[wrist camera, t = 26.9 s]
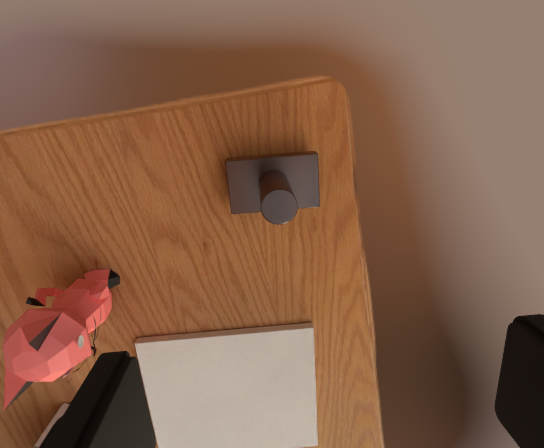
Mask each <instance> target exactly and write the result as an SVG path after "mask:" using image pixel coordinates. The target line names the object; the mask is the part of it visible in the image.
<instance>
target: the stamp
mask: <svg viewBox="0 0 544 448" xmlns="http://www.w3.org/2000/svg"><path fill="white" fill-rule="evenodd" d="M225 164H226V172H227V181H228V189H229V198H230V206H231V214H242V213H253V212H262V215H263V216H264V218H265V219H266V220H267V221H269V222H270V223H273V224H278V225H279V224H285V223H287V222H289V221H291V220H292V219H293V218H294V217H295V215H296V213H297V209H299V208H311V207H319V206H320V200H319V171H318V153H316V152H315V151H311V152H299V153H287V154H275V155H263V156H251V157H239V158H227V159H226V161H225Z"/></svg>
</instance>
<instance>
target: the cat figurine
mask: <svg viewBox="0 0 544 448" xmlns="http://www.w3.org/2000/svg"><path fill="white" fill-rule="evenodd" d="M119 284H120V276H119V275H117V274H116V273H115V272H113V271H112V270H111V269H101V270H92V271H89V272H87V273H85V274H84V279H79V278H78V279H77V280H76V281H75V282H74V283H73V284H72V285H70V286H69V287H68V288H67V289H66V290H65V291H64V290H61V289H58V288H44V289H37V291H36V294H35V299H34V298H30V297H28V299H27V302H26V303H27V304H30V305H34V306H45V307H46V296H56V297H57V298H56V299H55V300H54V301H53V304H52V308H40V309H30V310H27V311H26V312H25V313H24V314H23V315H22V316H21V317H20V318H19V319H18V320H17V321H16V322H15V323H14V324H13V325H12V326H11V327H10V328H9V329H8V330H7V331H6V334H5V339H4V343H3V350H4V361H5V393H4V410H5V409H6V408H7V407H8V406H10V405H11V404H12V403H13V402H14V401H15V400H16V399H17V398H18V397H19V396H20V395H21V394H22V393H23V392H24V391H25V390H26V389H27V388H28V387H29V386H30V385H31V384H32V383H33V382H34V381H40V382H53V381H54V380H56V379H57V378H58V377H60V376H61V375H63V374H64V373H65V374H64V376H63V378H65V377H66V376H67V375H69V374H70V372H71V371H72V370H73V367H74V366H75V365H77V364H78V363H80V362H81V361H83V360H84V359H86V358H87V357H89V356H90V355H91V354H92V350H91V349H93V350H94V355H95V353H96V349H95V344H94V341H95V337H94V341H93V344H94V347H92V346H91V343H90V337H89V334H90V333H92V332H93V331H95V333H96V328H97V327H98V326H99V325H100V324H101V323H103V322H104V321H105V320H106V318H107V316H108V314H109V312H110V310H111V308H112V300H111V291H110V290H109V289H108V288H112V287H114V286H116V285H119ZM94 329H95V330H94ZM98 329H99V327H98ZM97 334H98V332H97ZM92 338H93V336H92ZM96 338H97V337H96ZM94 355H93V356H94ZM85 361H86V360H85ZM81 366H82V365H81ZM77 370H78V369H77ZM77 370H76V371H77ZM74 372H75V371H74ZM72 373H73V372H72ZM69 381H70V380H69ZM65 384H66V383H65Z"/></svg>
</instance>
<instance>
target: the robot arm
mask: <svg viewBox="0 0 544 448" xmlns="http://www.w3.org/2000/svg"><path fill="white" fill-rule="evenodd" d="M495 412H496V415H497V417H498V419H499V421H500V422H501V424H502V425H503V426H504V428H505V429H506V430H507V431H508V433H509V434H510V435H511V437H512V438H513V439H514V440H515V442H516V443H517V444H518V446H519V447H520V448H544V315H541V314H537V315H526V316H518V317H516V318H515V319H514V320H513V323H510V325H509V326H508V329H507V335H506V341H505V347H504V353H503V359H502V365H501V371H500V377H499V383H498V388H497V395H496V400H495ZM155 445H156V442H155V435H154V430H153V426H152V422H151V417H150V413H149V409H148V404H147V400H146V396H145V391H144V387H143V383H142V378H141V374H140V370H139V365H138V361H137V358H136V357H130V355H129V353H128V352H127V351H121V352H109V353H103V354H101V355H100V356H99V358H98V359H97V361H96V362H95V364H94V366H93V367H92V369H91V371H90V372H89V374H88V375H87V377H86V379H85V380H84V382H83V384H82V385H81V387H80V389H79V390H78V392H77V393H76V395H75V397H74V398H73V400H72V402H71V403H70V405H69V406H68V408H67V410H66V411H65V413H64V415H63V416H62V417H60V418H59V419H57V421H56V422H55V423H54V425H53V426H52V428H51V429H50V431H49V432H48V434H47V435H46V437H45V439H44V440H43V442H42V443H41V445H40V447H39V448H155Z"/></svg>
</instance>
